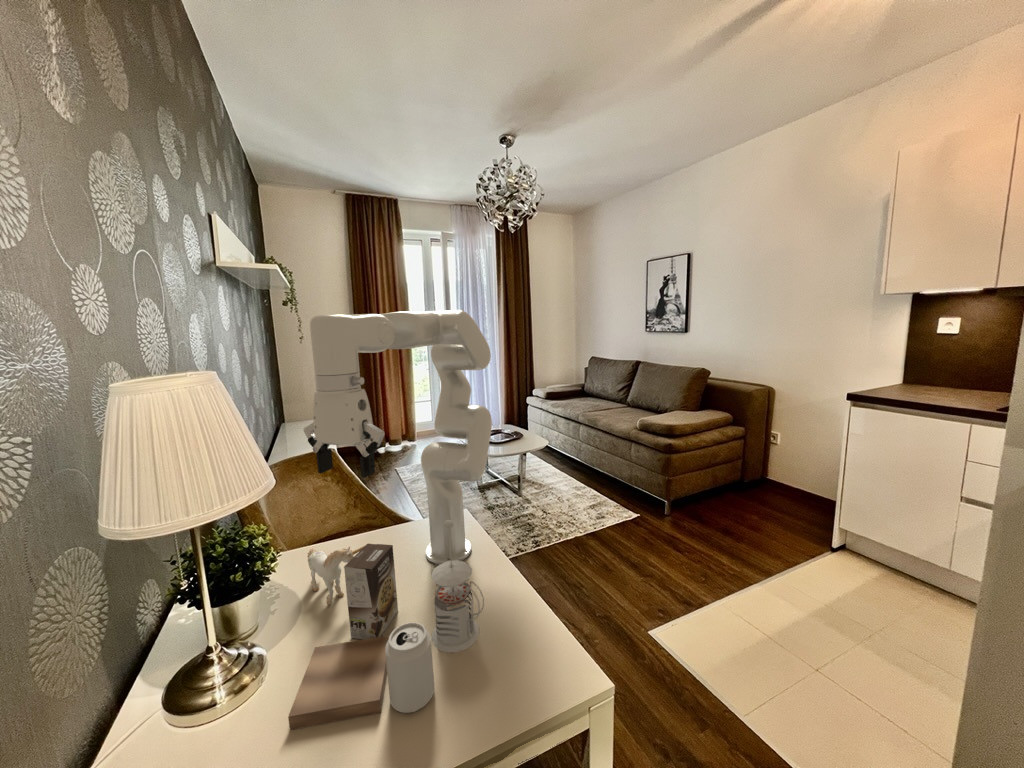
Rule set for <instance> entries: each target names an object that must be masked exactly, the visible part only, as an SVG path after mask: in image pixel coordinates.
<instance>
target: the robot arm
mask: <svg viewBox="0 0 1024 768" xmlns="http://www.w3.org/2000/svg"><path fill="white" fill-rule="evenodd" d="M309 330H310V340H311V341H310V342H311V352H312V360H313V370H314V381H315V389H316V390H315V391H314V396H313V404H312V406H313V407H312V410H313V411H312V412H313V413H312V415H313V416H312V420H313V422H312V423H310V424H309V425H307V426H305V427H304V428H303V432H304V434H305V436H306V438H307V443H309V445H310V446H311V448H312V452H313V453H315V454H316V463H317V464H316V465H317V473H319V474H323V473H325V472H327V471H330V470H332V469H334V464H333V462H334V461H333V453H332V448H329V446H330V445H331V446H346V447H355V448H356V449H357V450H358V451H359V452H360V454H361V456H360V457H359V466H360V467H359V468H360V476H361V478H362V479H366V478H367V477H369V476H371V475H373V474H375V472H376V461H375V453H377V451H378V449H379V448H380V447H381V446H382V442H383V439H384V437H385V431H384V430H383V429H381V428H379V427H377V426H376V425H374V422H373V416H372V410H371V407H370V406H371V405H370V401H369V398H368V395H367V392H366V390H365V388H362V386H363V385H364V384H365V378H364V377H362V376H361V373H360V361H359V353H362V354H364V353H365V354H366V353H369V354H371V353H373V354H375V353H381V352H384V351H386V350H388V349H389V350H407V349H416V348H423V347H430V346H432V347H431V351H430V356H431V357H430V358H431V361H432V364H433V366H434V368H435V370H436V372H437V375H438V377H439V381H440V392H439V398H438V403H437V408H436V413H435V419H434V431H435V433H436V434H437V435H438V436H440V437H443V438H446V439H447V438H448V439H454V440H467V443H456V442H446V441H436V442H432V443H429V444H428V445H426V446H425V447H424V449H423V451H422V452H421V455H420V464H421V469H422V474H423V477H424V479H425V481H424V482H425V485H426V494H427V509H428V510H427V511H428V521H429V523H428V525H429V534H430V535H429V536H430V543H429V544H428V545H427V547H426V549H425V557H426V559H427V560H428V561H429V562H431V563H433V564H435V565H440V564H442V563H444V562H447V561H451V560H450V544H449V528H445V527H444V523H445V521H446V520H452V521H453V523H454V526H453V527H452V528H450V543H451V559H452V561H456V560H458V561H462V562H463V560H465V559H466V558H468V556H469V555H471V552H472V543H471V542H470V541H469V540H468V539H466V531H465V529H466V528H465V513H464V510H465V509H464V495H463V488H462V485H461V483H460V482H468V483H470V482H471V483H473V482H477V481H479V480H481V478H482V477H483V475H484V473H485V470H486V465H487V461H488V460H487V459H488V453H489V448H490V440H491V435H492V434H491V433H492V425H493V424H492V423H493V420H492V416H491V412H490V411H489V409H488V408H487V407H486V406H483V405H478V404H470V403H471V402H470V399H471V393H472V387H471V385H470V382H469V380H468V378H467V377H466V375H465V374H464V373H463V371H483V370H484V369H486V368H487V367H488V366H489V364H490V362H491V357H492V355H491V348H490V346H489V344H488V341H487V340H486V338H485V336H484V335H483V332H482V331H481V329H480V327H479V326H478V324H477V322H476V321H475V320H474V318H473V317H472V316H471V315H470V314H469V313H468V312H466V311H464V310H461V309H456V310H454V309H452V310H427V311H424V310H423V311H421V310H420V311H419V310H418V311H417V310H416V311H415V310H413V311H410V310H406V311H394V312H392V311H391V312H388V313H379V314H378V313H361V314H359V313H358V314H357V313H355V314H318V315H315V316H313V317H311V319H310V321H309Z"/></svg>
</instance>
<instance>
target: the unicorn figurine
mask: <svg viewBox="0 0 1024 768" xmlns="http://www.w3.org/2000/svg"><path fill="white" fill-rule="evenodd" d="M368 544H371V543H368ZM364 546H365V545H363V546H362V547H359V548H357V549H355V550H351V546H348V547H345V548H342V549H337V550H334V551H332V552H330V553H329V554H328V555H327V554H326V552H324V551H322V550H315V548H314V547H312V548H310V549H309V550H308V552H307V563H308V567H309V568H308V569H310V576H311V581H310V584H311V585H312V591H313V592H319V590H320V587H319V585H318V584H317V580H316V574H317V576H318V577H320V578H322V580H323V582H324V584H325V587H326V589H327V590H328V594H327V595H326V605H332V603H333V600H334V589H335V594H337V597H339V598H342V597H344V596H345V594H344V592H343V590H342V589H341V586H340V585H341V584H340V583H341V579H340V578H341V574H342V568H341V565H340V564H341V563H342V562H343V563H345V564H347V563H348V562H349V561H350V560H351V559H352V558H353V557H354V556H355V555H356V554H357V553H358V552H359V551H360V550H361V549H362V548H363V547H364ZM334 583H335V585H334ZM333 585H334V589H333Z"/></svg>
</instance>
